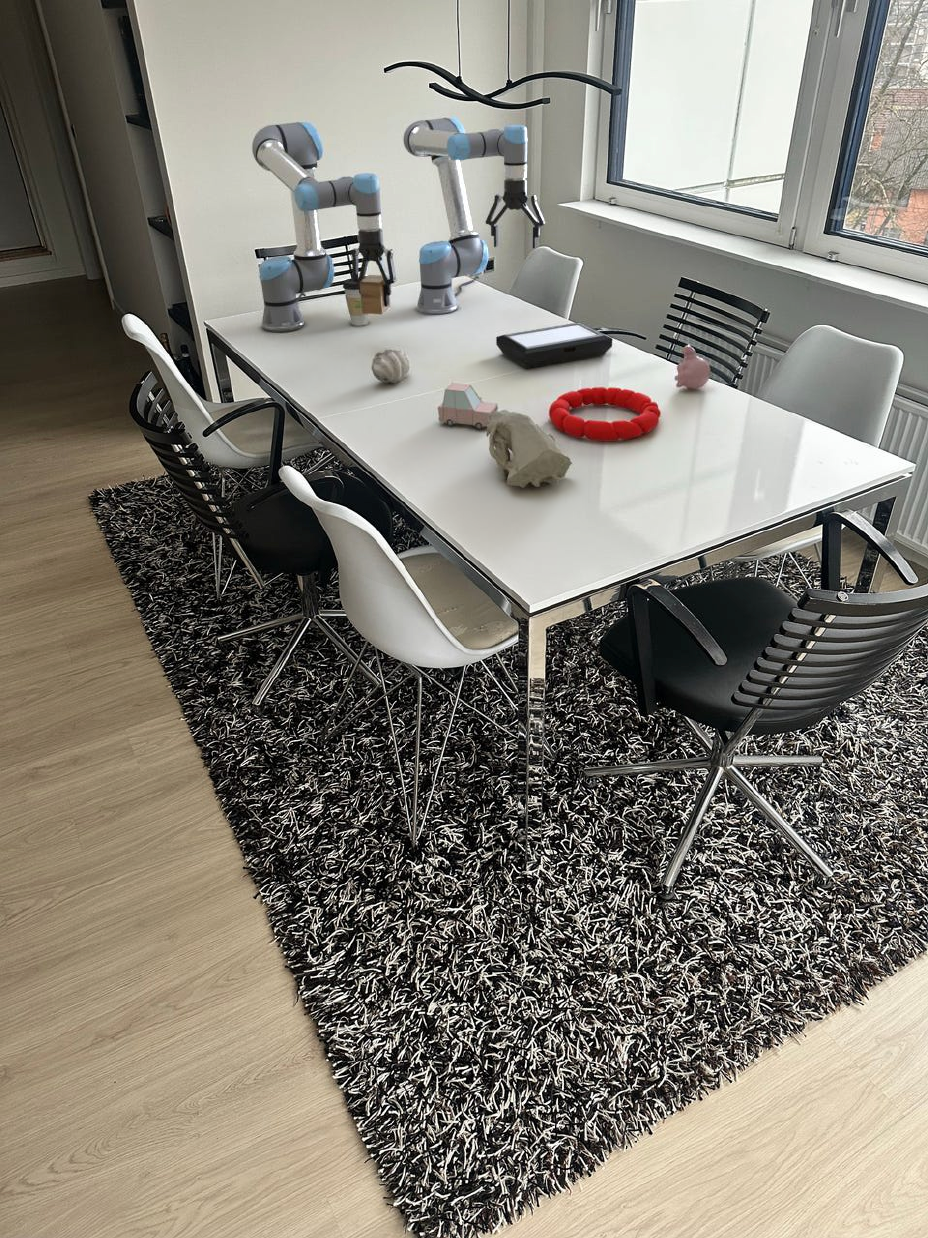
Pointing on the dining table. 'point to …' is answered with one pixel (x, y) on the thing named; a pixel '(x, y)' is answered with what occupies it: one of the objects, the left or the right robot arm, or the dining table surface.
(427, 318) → the dining table surface
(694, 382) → the figurine
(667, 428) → the dining table surface
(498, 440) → the grey rough stone chunk
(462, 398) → the toy car
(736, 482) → the dining table surface
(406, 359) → the seashell
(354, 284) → the coffee cup
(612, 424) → the decorative ring
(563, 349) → the electronic device
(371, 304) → the block
